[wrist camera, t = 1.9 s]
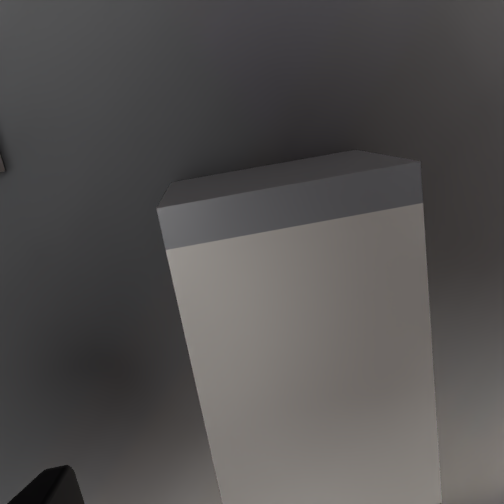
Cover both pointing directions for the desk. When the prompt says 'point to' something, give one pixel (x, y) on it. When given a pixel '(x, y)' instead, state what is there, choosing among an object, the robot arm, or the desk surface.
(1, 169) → the stand
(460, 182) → the desk surface
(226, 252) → the block
